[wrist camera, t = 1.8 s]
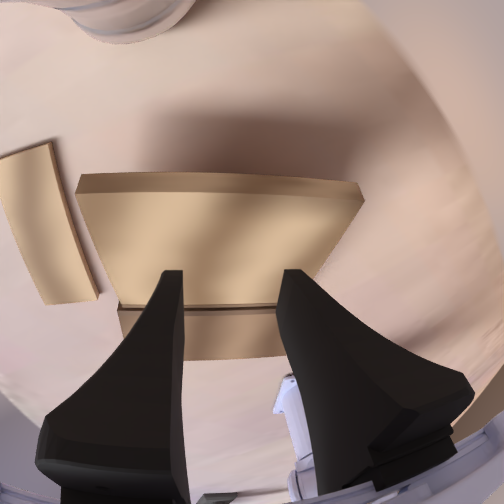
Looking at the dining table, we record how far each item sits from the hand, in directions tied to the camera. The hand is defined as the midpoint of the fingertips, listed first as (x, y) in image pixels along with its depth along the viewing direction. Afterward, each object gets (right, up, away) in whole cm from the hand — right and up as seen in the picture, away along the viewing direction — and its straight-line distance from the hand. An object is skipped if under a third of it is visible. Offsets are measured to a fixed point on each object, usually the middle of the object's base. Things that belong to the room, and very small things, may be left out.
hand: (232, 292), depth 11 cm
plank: (-14, +3, +8) cm, 16 cm away
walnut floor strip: (-3, -5, +14) cm, 16 cm away
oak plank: (-1, +2, +7) cm, 8 cm away
